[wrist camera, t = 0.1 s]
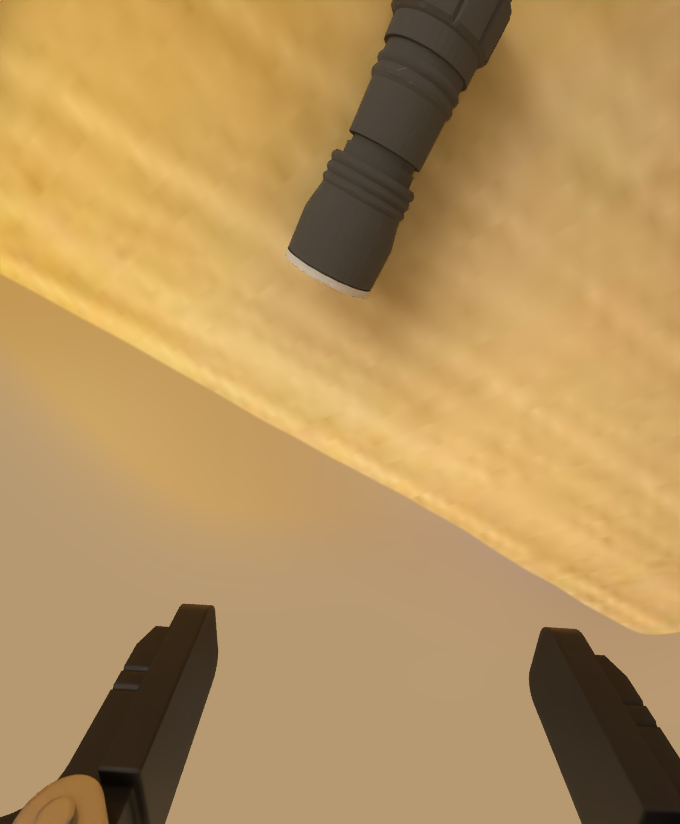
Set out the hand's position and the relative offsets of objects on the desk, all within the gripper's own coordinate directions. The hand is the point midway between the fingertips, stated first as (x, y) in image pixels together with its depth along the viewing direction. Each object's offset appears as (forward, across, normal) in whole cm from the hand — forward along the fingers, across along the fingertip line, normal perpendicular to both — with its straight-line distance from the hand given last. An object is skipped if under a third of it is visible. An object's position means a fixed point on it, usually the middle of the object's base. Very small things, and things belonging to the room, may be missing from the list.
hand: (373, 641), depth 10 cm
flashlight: (+21, 0, -15) cm, 25 cm away
